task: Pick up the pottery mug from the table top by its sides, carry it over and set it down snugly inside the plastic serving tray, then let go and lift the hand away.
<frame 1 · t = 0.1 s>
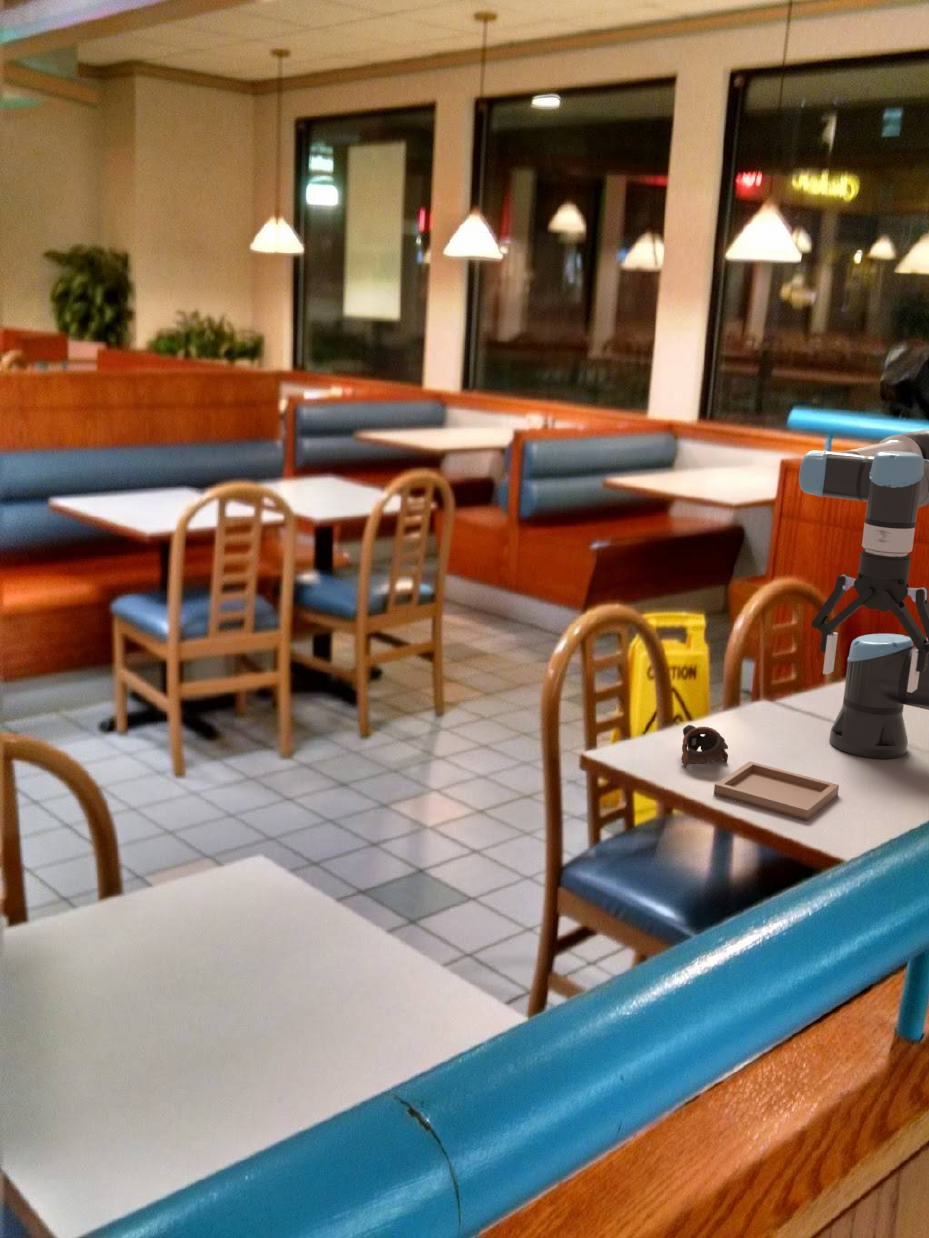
hand: (869, 681, 195), 28 cm above the table, tool pointing down, fingers open, 13 cm apart
pottery mug: (700, 763, 235), on the table
serving tray: (776, 794, 220), on the table
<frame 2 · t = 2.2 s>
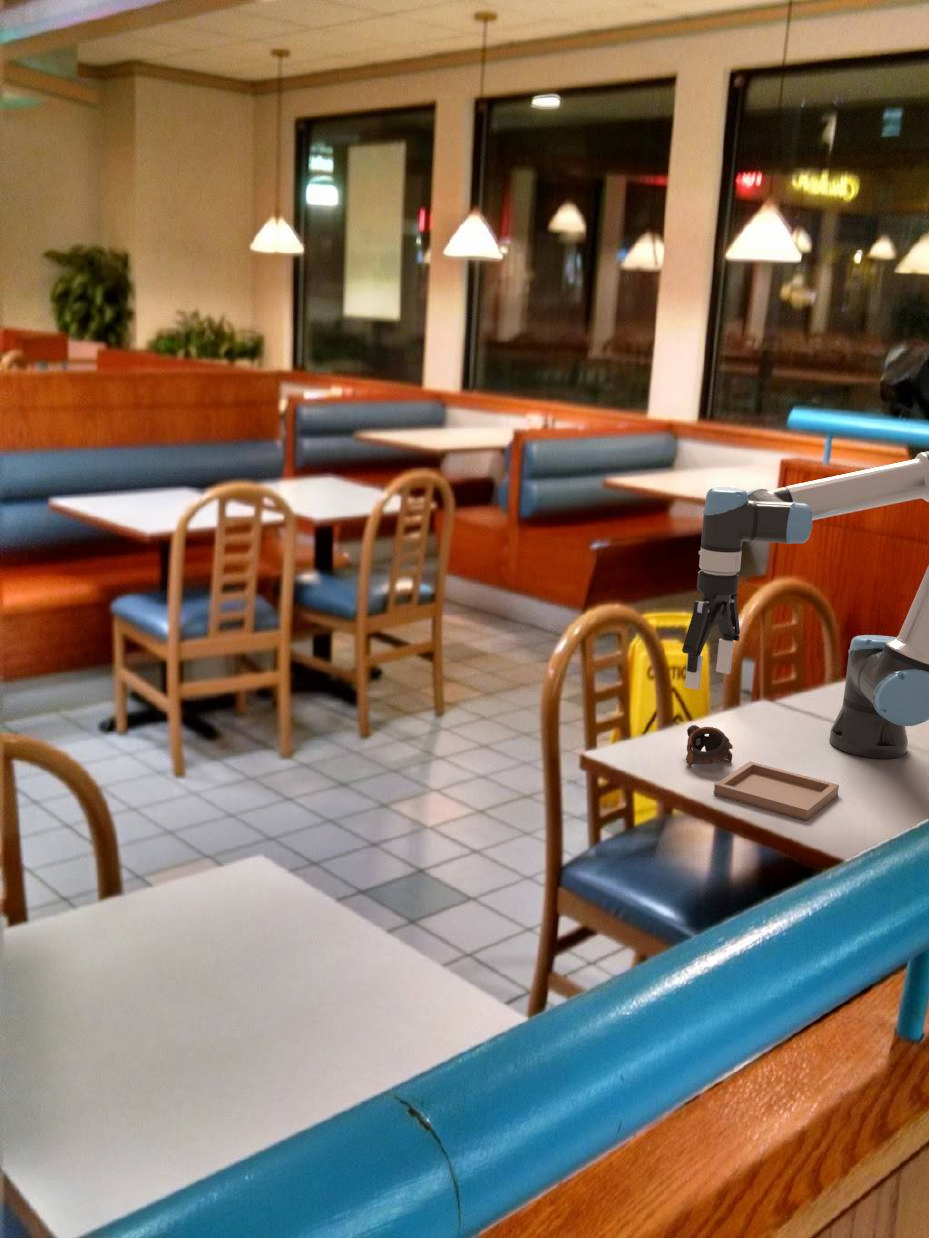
hand: (708, 680, 231), 17 cm above the table, tool pointing down, fingers open, 13 cm apart
nothing on the table moved.
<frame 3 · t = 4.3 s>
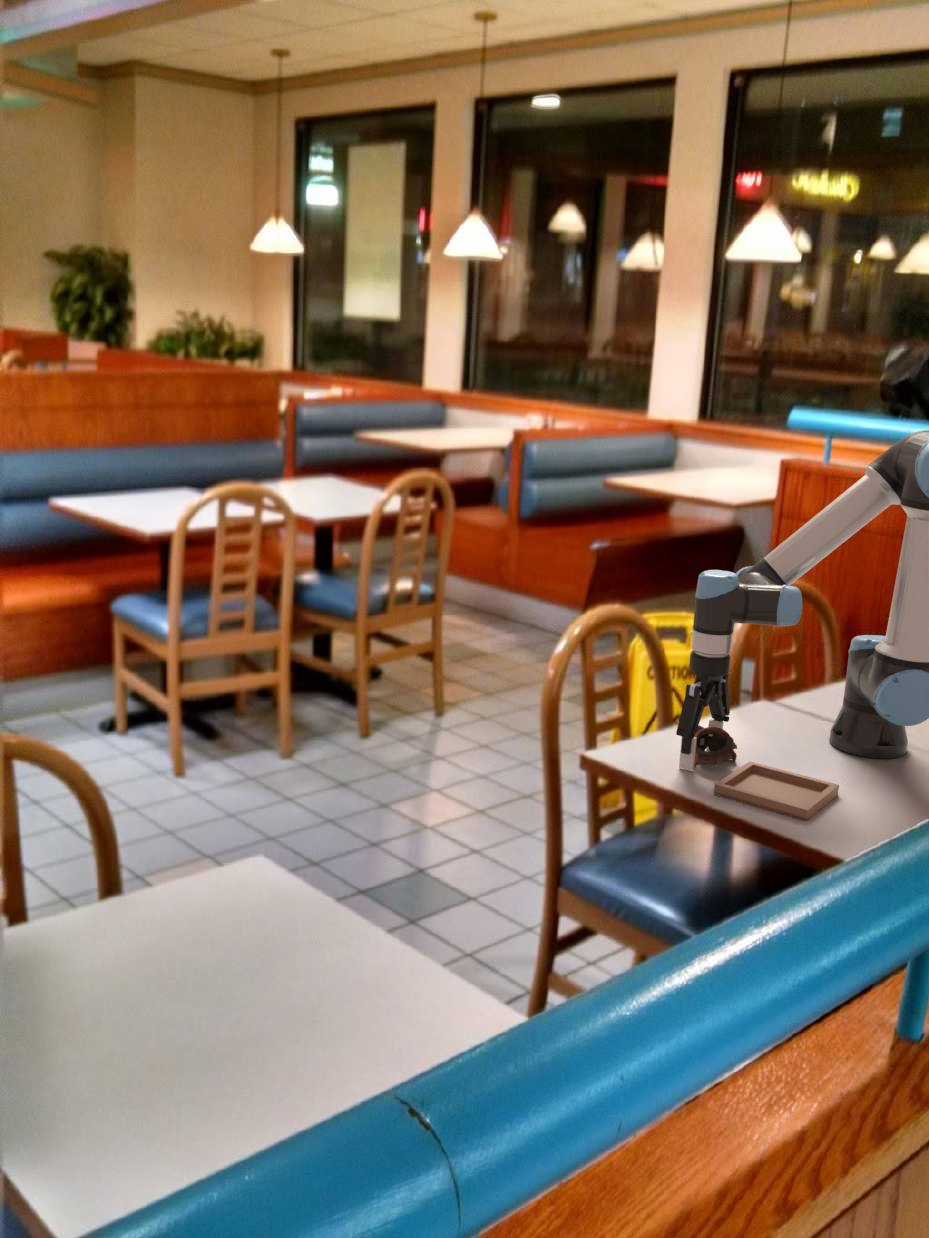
hand: (700, 760, 235), 0 cm above the table, tool pointing down, fingers open, 11 cm apart
pottery mug: (709, 763, 235), on the table, touching gripper
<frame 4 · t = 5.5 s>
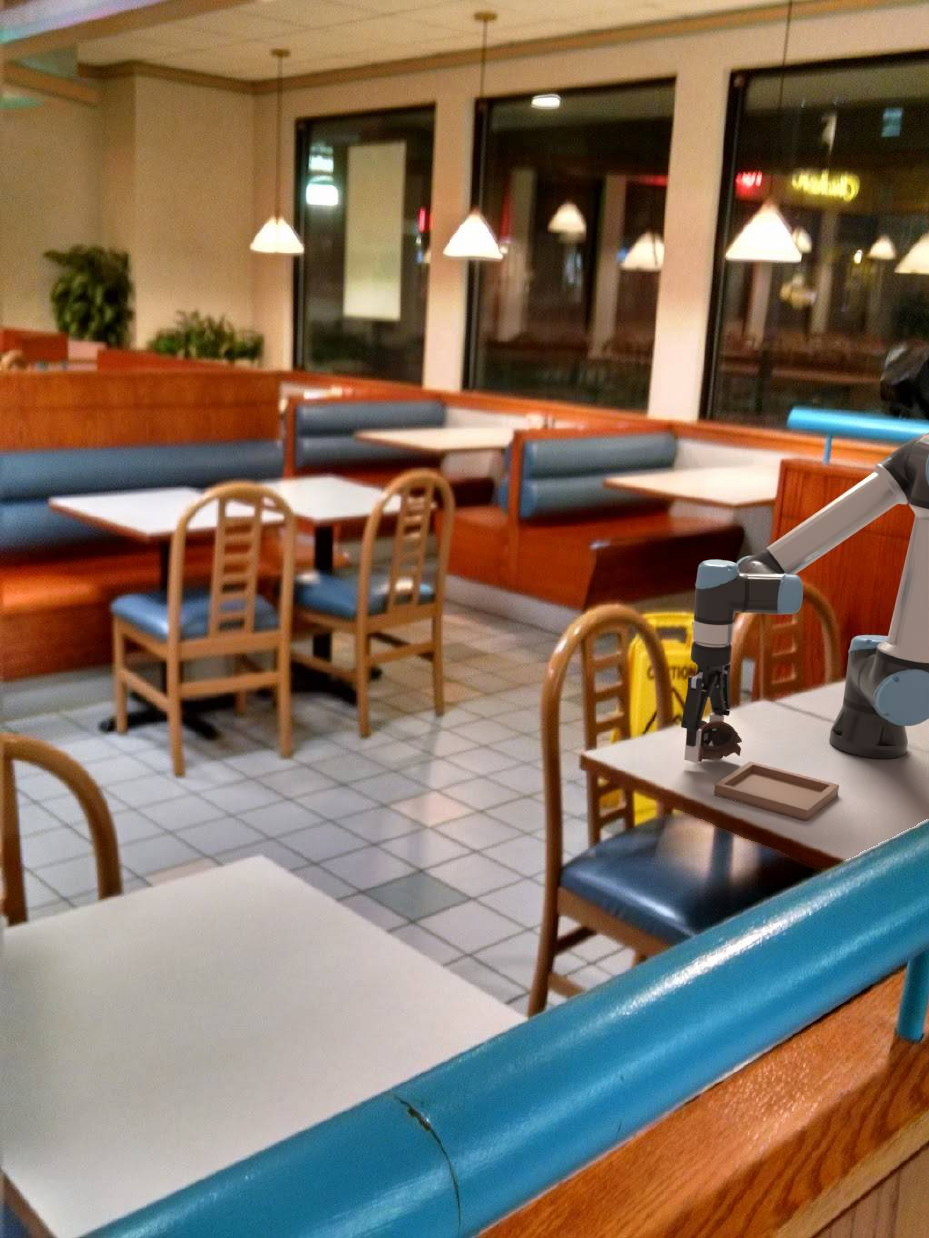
hand: (703, 753, 235), 2 cm above the table, tool pointing down, fingers closed on pottery mug, 9 cm apart
pottery mug: (714, 757, 234), point 1 cm above the table, touching gripper
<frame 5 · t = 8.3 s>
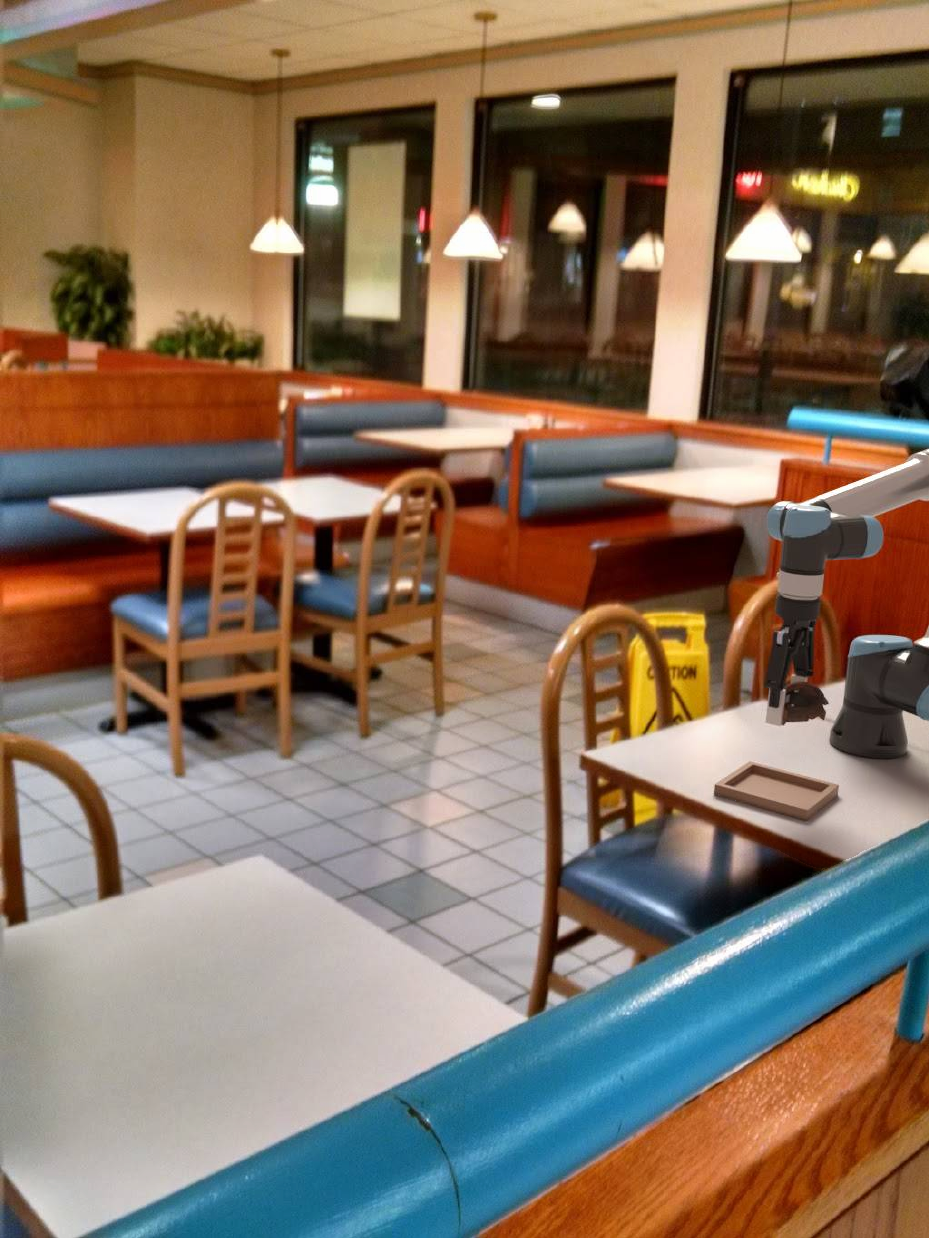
hand: (784, 716, 217), 15 cm above the table, tool pointing down, fingers closed on pottery mug, 9 cm apart
pottery mug: (796, 721, 216), point 14 cm above the table, touching gripper
when the fingers open (3 cm above the table, at t = 11.3 s): pottery mug drops 2 cm, resting on serving tray.
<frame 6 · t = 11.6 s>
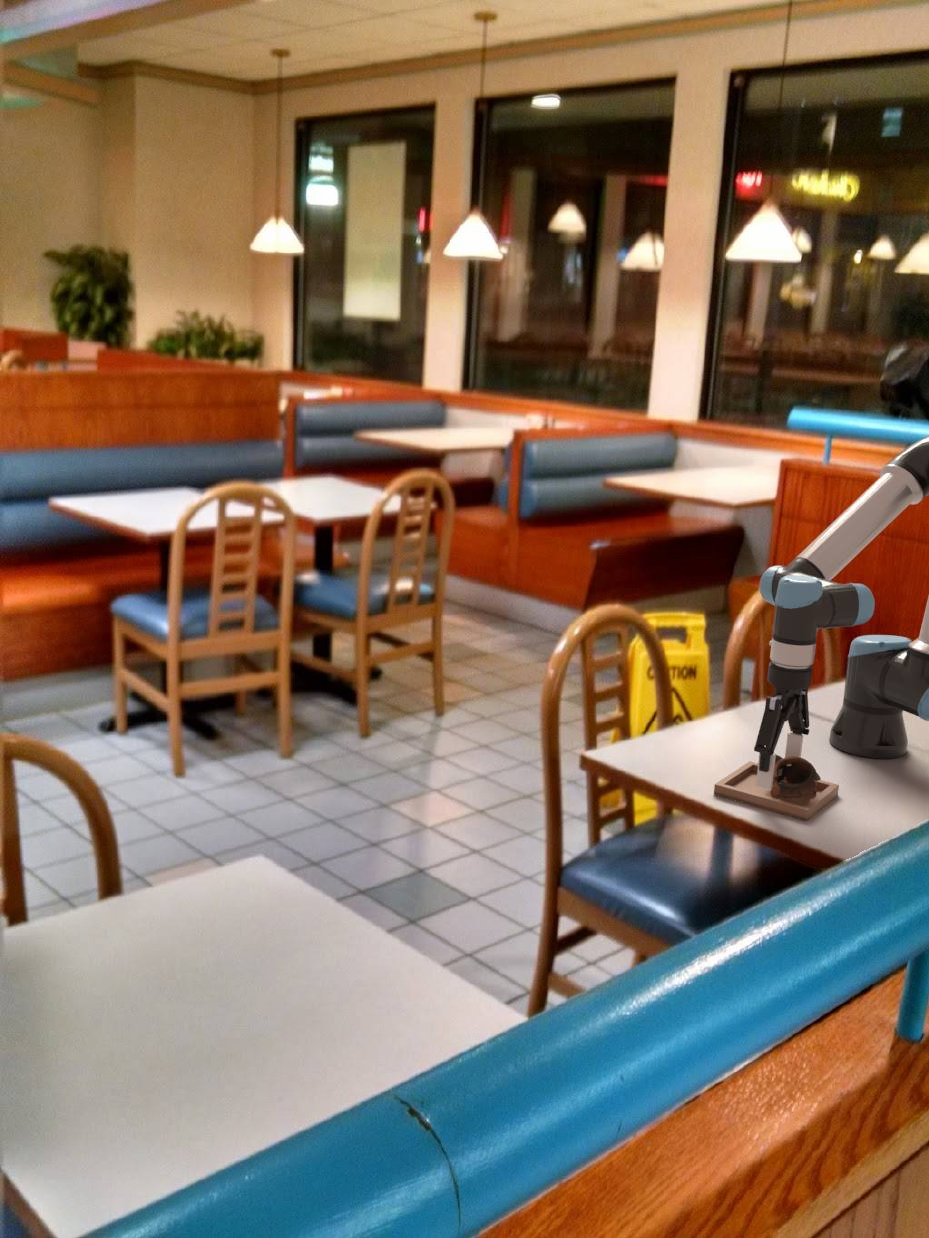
hand: (778, 777, 219), 3 cm above the table, tool pointing down, fingers open, 12 cm apart
pottery mug: (789, 795, 219), resting on serving tray
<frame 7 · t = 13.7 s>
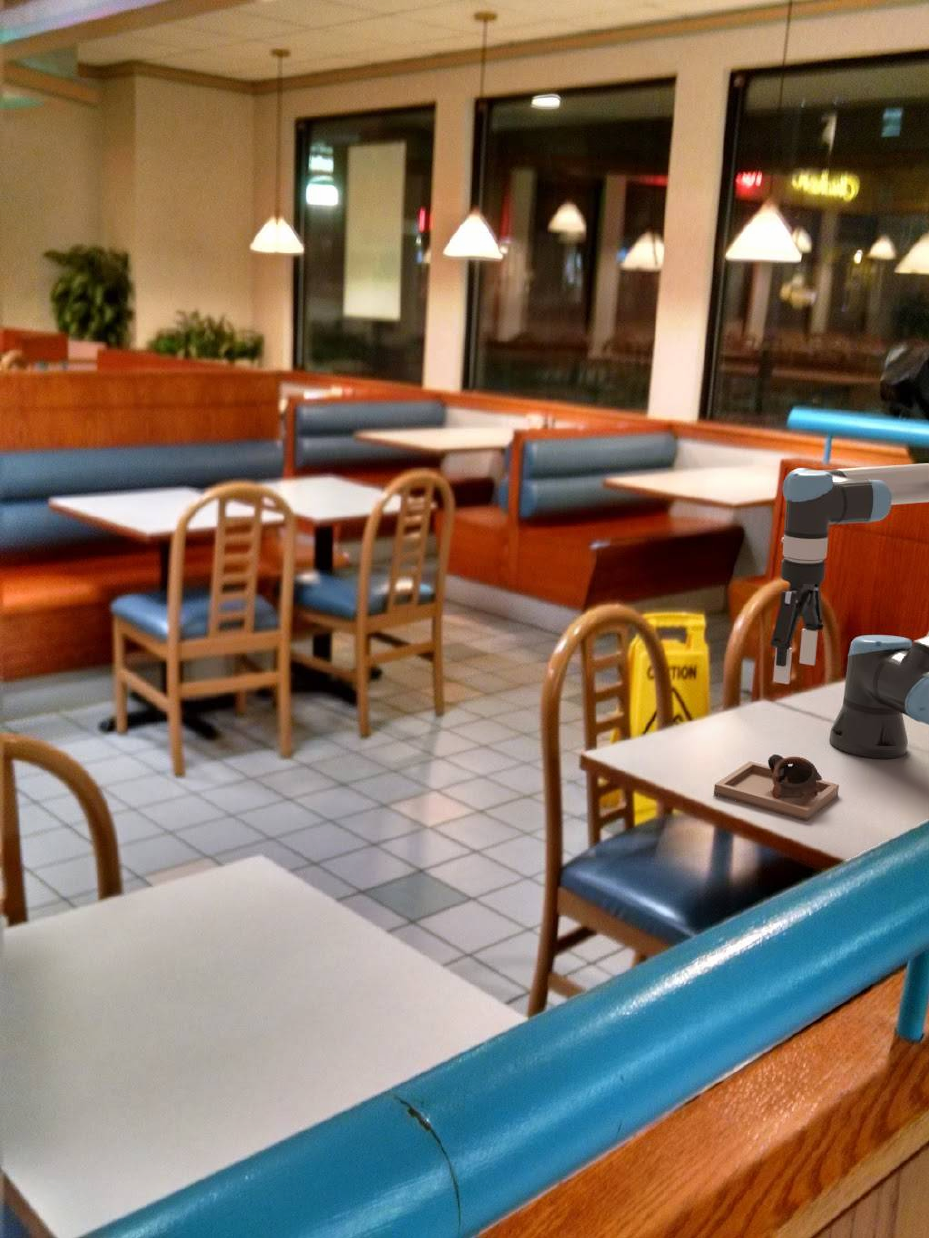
hand: (794, 673, 220), 22 cm above the table, tool pointing down, fingers open, 13 cm apart
nothing on the table moved.
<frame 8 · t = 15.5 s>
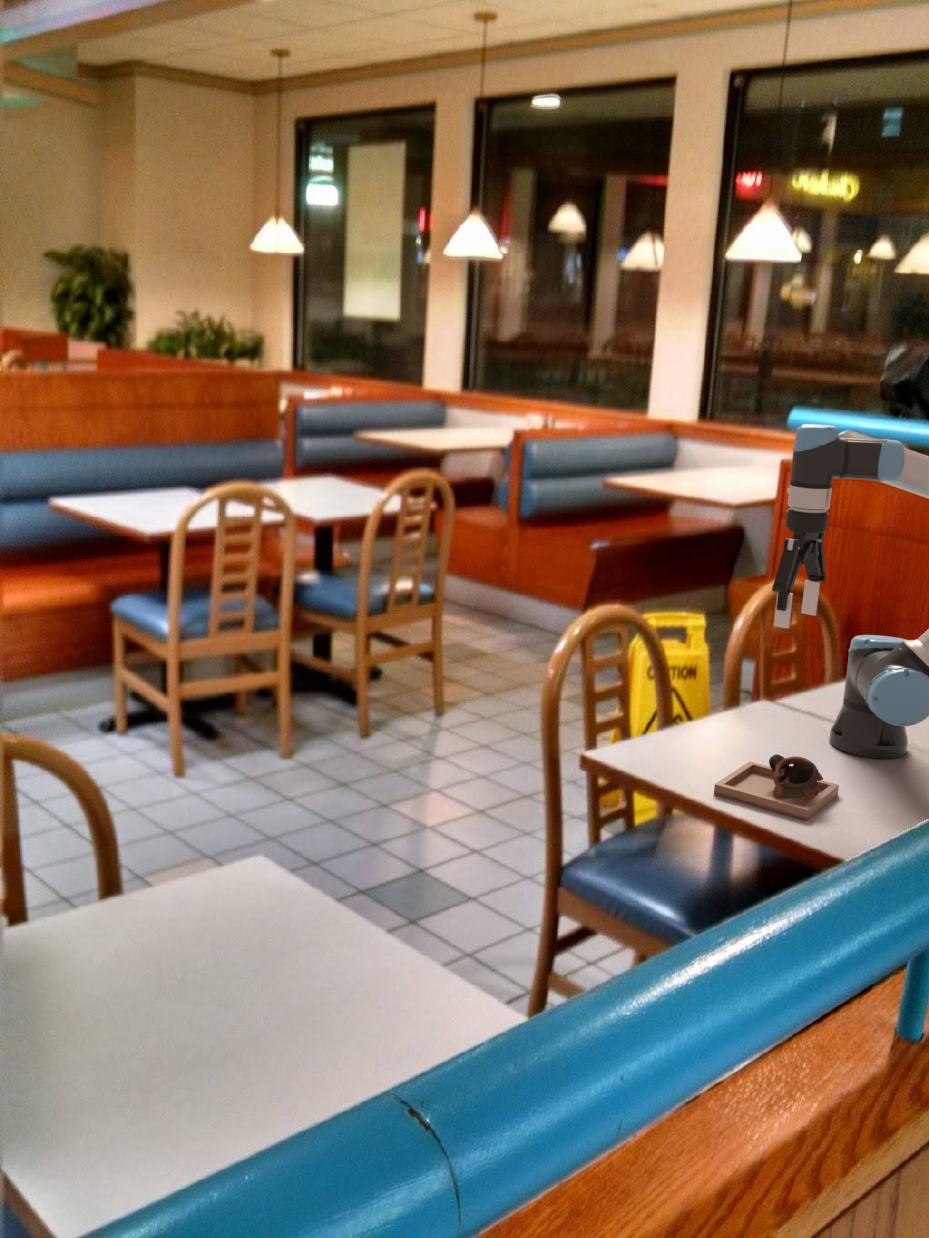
hand: (795, 620, 229), 29 cm above the table, tool pointing down, fingers open, 13 cm apart
nothing on the table moved.
at the end: pottery mug 2.8 cm off-centre on the serving tray, point 0.4 cm above the serving tray's base; pottery mug tilted 0°; the gripper is holding nothing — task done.
